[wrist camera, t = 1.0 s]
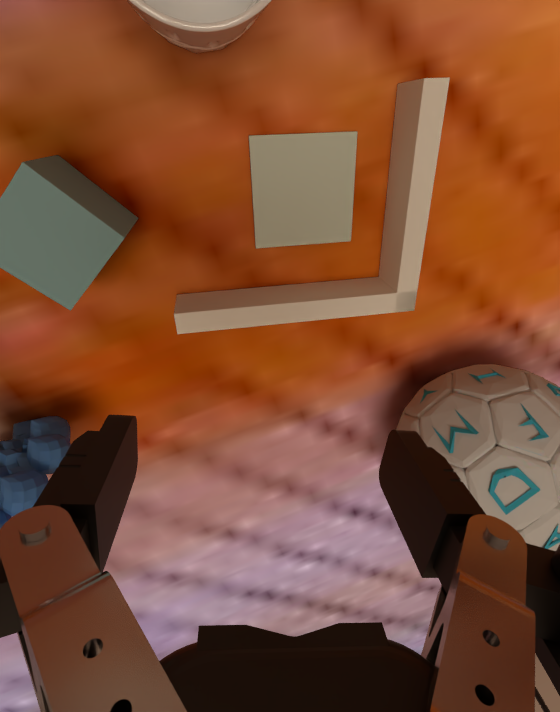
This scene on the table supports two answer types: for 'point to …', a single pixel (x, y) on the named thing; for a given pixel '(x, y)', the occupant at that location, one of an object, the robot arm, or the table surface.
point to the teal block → (58, 228)
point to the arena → (333, 219)
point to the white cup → (200, 20)
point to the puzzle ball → (498, 442)
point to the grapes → (30, 462)
